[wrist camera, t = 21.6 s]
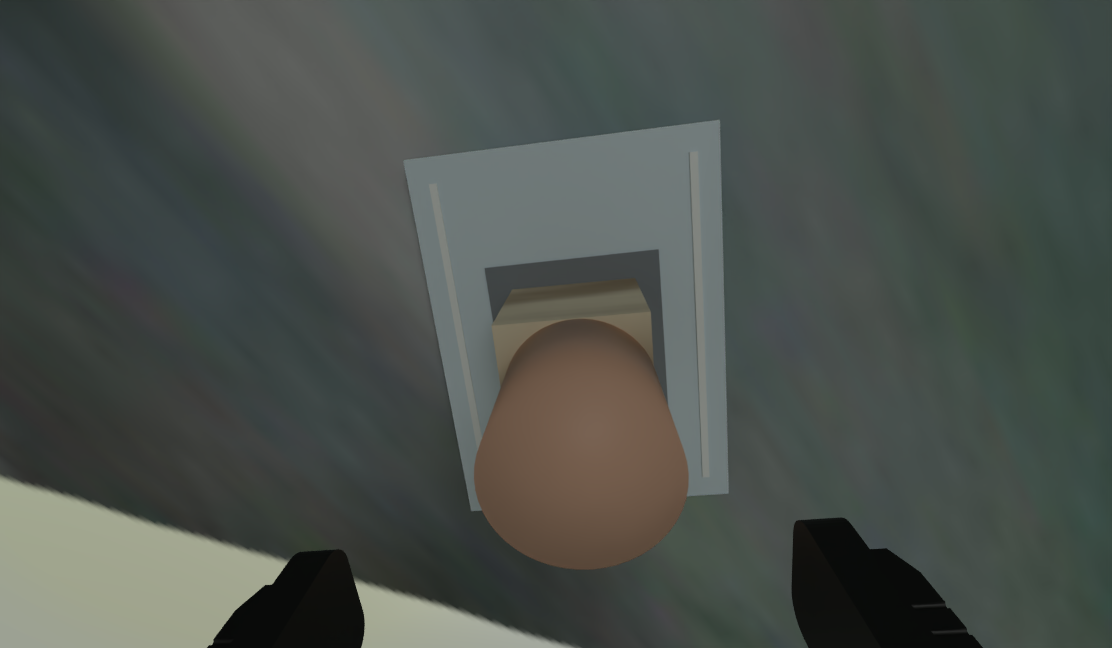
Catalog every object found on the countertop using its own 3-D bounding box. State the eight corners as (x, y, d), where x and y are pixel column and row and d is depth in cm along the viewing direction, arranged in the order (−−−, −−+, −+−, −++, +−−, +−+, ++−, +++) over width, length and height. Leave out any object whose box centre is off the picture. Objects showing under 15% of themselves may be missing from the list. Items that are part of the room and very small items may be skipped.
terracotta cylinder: (493, 327, 16) (456, 393, 11) (653, 310, 16) (683, 373, 11) (516, 464, 18) (491, 575, 13) (662, 453, 17) (693, 563, 12)
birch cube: (512, 289, 21) (491, 325, 16) (634, 277, 21) (650, 311, 16) (527, 400, 22) (512, 463, 18) (642, 391, 22) (658, 454, 17)
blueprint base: (411, 160, 21) (402, 160, 20) (713, 122, 20) (720, 119, 19) (475, 498, 25) (470, 512, 24) (722, 480, 24) (729, 494, 23)
